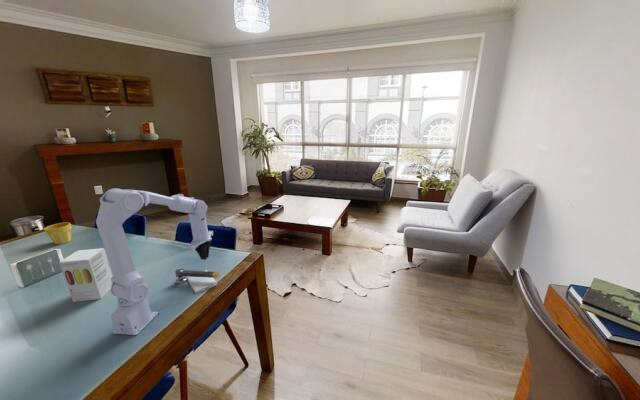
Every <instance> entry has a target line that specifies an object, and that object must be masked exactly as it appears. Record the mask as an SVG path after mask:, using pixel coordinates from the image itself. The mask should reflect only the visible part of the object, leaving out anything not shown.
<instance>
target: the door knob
mask: <svg viewBox="0 0 640 400" xmlns="http://www.w3.org/2000/svg"><path fill="white" fill-rule="evenodd" d="M185 282H188V280H187V276H182V277H177V278H176V279H175V284H177V285H180V284H181V285H182V284H184V283H185Z"/></svg>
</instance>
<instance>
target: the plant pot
mask: <svg viewBox="0 0 640 400" xmlns="http://www.w3.org/2000/svg"><path fill="white" fill-rule="evenodd" d="M72 228H73V227H72V224H71V222H68V221H67V222H59V223H55V224H51V225H47V226H46V227H44V228H43V231H44V233H45V235H46V236H48V237H49V238H50V240H51V241H52V242H53V244H55V245H63V244H66V243H69V242H71V241H72V231H71V230H72Z"/></svg>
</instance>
